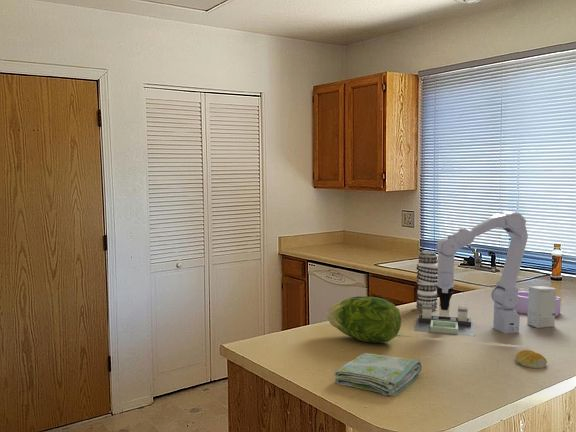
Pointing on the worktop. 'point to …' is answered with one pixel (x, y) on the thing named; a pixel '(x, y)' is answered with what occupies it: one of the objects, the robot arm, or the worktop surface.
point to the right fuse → (462, 313)
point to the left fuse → (427, 311)
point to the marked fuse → (443, 311)
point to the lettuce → (366, 318)
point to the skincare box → (541, 306)
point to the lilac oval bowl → (523, 303)
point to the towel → (378, 373)
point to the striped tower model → (427, 279)
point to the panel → (445, 325)
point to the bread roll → (530, 359)
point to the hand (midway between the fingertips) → (444, 308)
